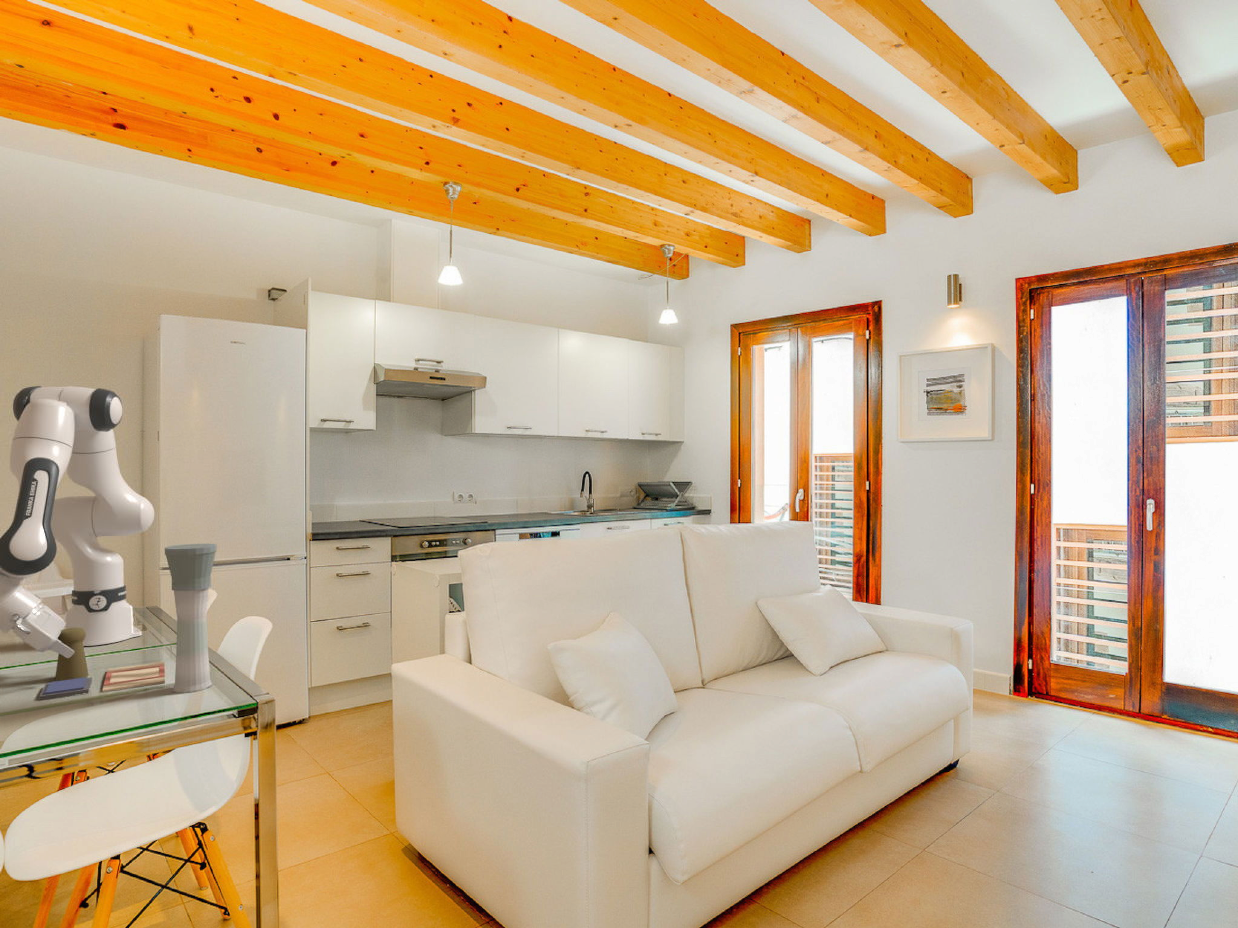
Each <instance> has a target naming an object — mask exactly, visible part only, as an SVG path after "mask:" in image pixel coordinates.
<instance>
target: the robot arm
mask: <svg viewBox="0 0 1238 928" xmlns="http://www.w3.org/2000/svg"><path fill="white" fill-rule="evenodd" d="M12 410H13V415H14V418H15V419H16V420H17V424H16V427H15V430H14V434H13V436H12V441H11V444H10V451H9V469H10V472H11V474H12V475H13V476H14V477H16V480H17V481H18V493H17V499H16V504H15V510H14V515H13V519H12V523H11V524H10V526H9V528H8V529H7V530H6V531H5V532H4V533H3V535H2V536H1V537H0V631H1V632H3V634H7V633H8V632H10V631H12V633H13V634H14V635H15V636H16V637H17V638H19V639H20V640H22V641H23V642H24V643H26V644H27V645H29V646H30V647H32V648H33V649H35V650H36V651H38V652H40V653H44V652H46V651H47V650H48V649H49V650H50V651H52V652H53V653H56V654H58V655H59V654H61V655H63V656H64V657H66V658H70V657H71V656H72V655H73V654H74V652H75V650H74V649H72V648H71V647H69V646H66V645H65V644H63V643H62V642H61V641H60V640H58V637H59V635H60V634H61V630H63V629H67V628H74V627H77V628H83V629H84V630H85V633H86V636H85V639H84V641H83V646H84V647H89V646H99V645H106V644H113V643H117V642H122V641H125V640H129V639H131V638H135V637H140V636H143V632H142V631H141V630H140V629H139V628H138V627H136V626H134V622H135V619H134V616H133V614H134V613H133V612H134V611H133V610H134V609H133V605H131V603H129V602H127V600H126V598H127V587H126V585H125V578H124V576H125V573H124V571H125V570H124V569H125V568H124V565H125V564H124V559H123V557H122V556H121V555H120V554H119V553H118V552H116V551H115V550H112V549H109V548H105V547H103V546H102V545H101V544H100V543H99V541H98V538H99V537H116V536H117V537H120V536H121V537H122V536H129V535H135V534H140V533H144V532H146V531H148V530H149V528H151V526H152V524H153V523H154V520H155V508H154V506H153V504H152V503H151V501H150V500H149V499H147V498H146V497H144V496H142V495H141V494H139V493H137V492H136V491H135V490H133V489H132V488H131V486H129V484H127V482H126V481H125V479H124V478H123V475H122V473H121V470H120V469H121V468H120V465H119V461H118V460H119V459H118V454H117V445H116V444H117V443H116V437H115V432H114V429H115V428H117V426H118V425H119V424H120V423H121V420H122V418H123V403H122V400H121V398H120V397H119V395H117V394H116V392H115V391H112V390H109V389H105V388H99V387H98V388H91V387H85V386H75V385H68V386H40V385H36V386H35V385H34V386H27V387H24V388H22V389H21V390H20V391H19V392H17V393H16V395H15V396H14V399H13V403H12ZM65 473H66V474H67V476H68V478H69V479H70V480H71V481H72V482H73V483H75V484H76V485H78V486H80V487H84V488H86V489H88V490H90V491H91V492H92V493H93V494H94V495H88V496H87V495H86V496H84V495H83V496H65V497H60V498H56V492H57V489H58V487H59V484H60V483H61V481H62V479H63V477H64V475H65ZM57 542H58V543H59V544H60V545H61V546H62V548H63V549H65V551H66V553H67V554H68V556H69V558H70V561H71V568H72V576H73V577H72V579H73V580H72V581H73V589H72V590H71V595H70V598H71V604H72V606H70V608H69V609H68V610H67V611H65V613H64V619H63V618H62V617H61V616H60V615H58V613H56V612H55V611H53V610H52V609H51V608H50V607H49V606H47V605H46V604H45V603H43V602H42V601H43V599H42V598H41V597H40V596H39V595H37V594H34V593H32V592H31V591H30V590H28V589H27V588H25V587H23V586H22V585H21V582H22V581H24V580H26V579H28V578H31V577H33V576H35V575H36V574H38V573H39V572H42V571H43V570H45V569H46V568H47V567H49V566H50V565H51V564H52V562H54V559H55V558H56V556H57V552H58V551H57V549H58V548H57V547H58V546H57Z"/></svg>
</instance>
